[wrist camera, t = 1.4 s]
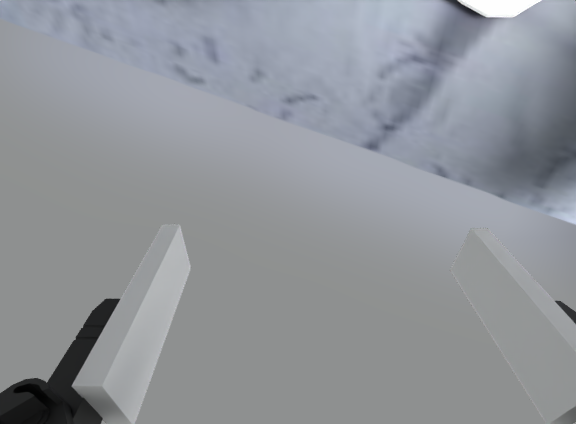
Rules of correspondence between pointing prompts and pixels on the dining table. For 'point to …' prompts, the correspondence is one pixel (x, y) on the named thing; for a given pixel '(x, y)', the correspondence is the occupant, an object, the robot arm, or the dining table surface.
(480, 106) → the dining table surface
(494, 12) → the plate
